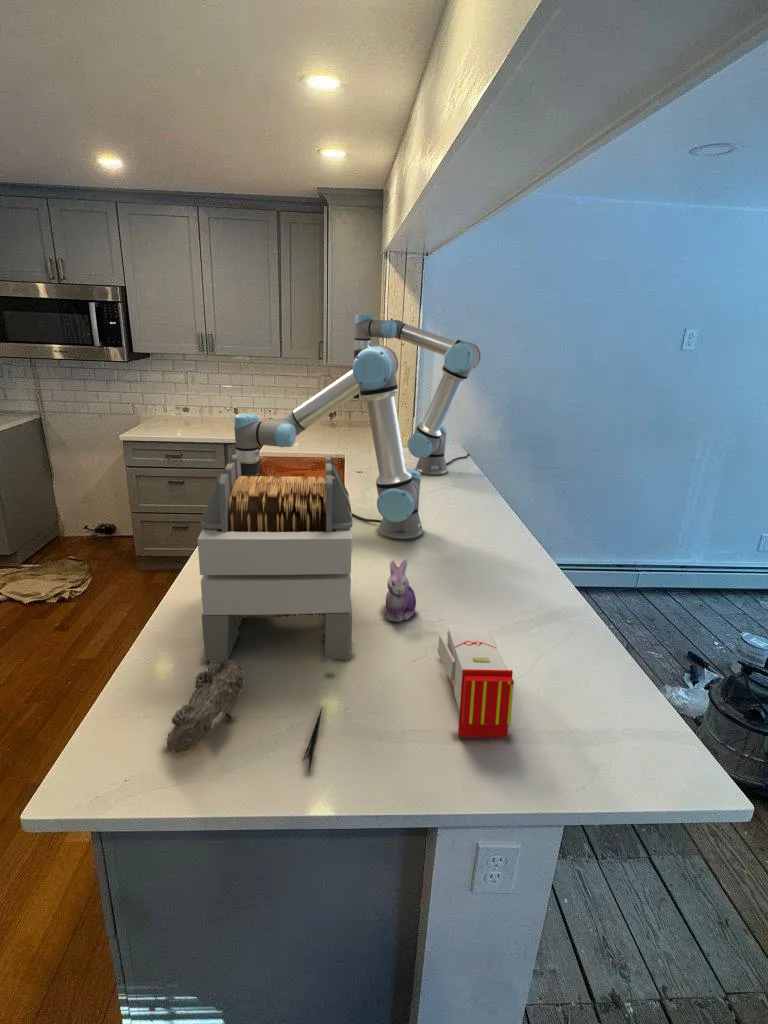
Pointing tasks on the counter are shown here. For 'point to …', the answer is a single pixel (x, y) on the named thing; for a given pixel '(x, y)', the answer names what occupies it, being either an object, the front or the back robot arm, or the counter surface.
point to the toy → (478, 682)
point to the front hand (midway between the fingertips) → (250, 526)
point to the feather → (313, 740)
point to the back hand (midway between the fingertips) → (360, 396)
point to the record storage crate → (276, 555)
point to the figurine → (399, 594)
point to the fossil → (206, 705)
